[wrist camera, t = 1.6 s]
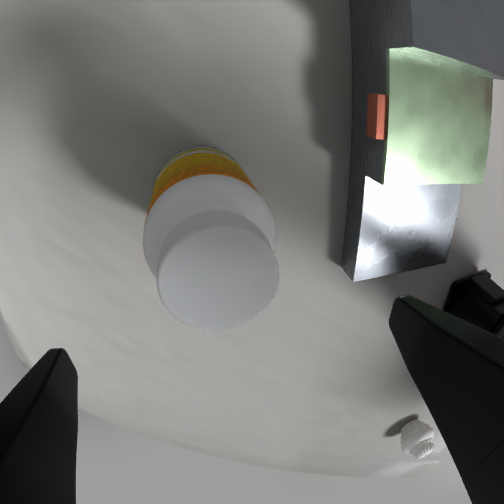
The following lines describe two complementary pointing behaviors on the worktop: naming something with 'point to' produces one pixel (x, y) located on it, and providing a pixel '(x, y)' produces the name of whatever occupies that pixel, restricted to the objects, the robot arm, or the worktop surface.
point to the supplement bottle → (210, 241)
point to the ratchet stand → (416, 126)
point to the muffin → (417, 438)
